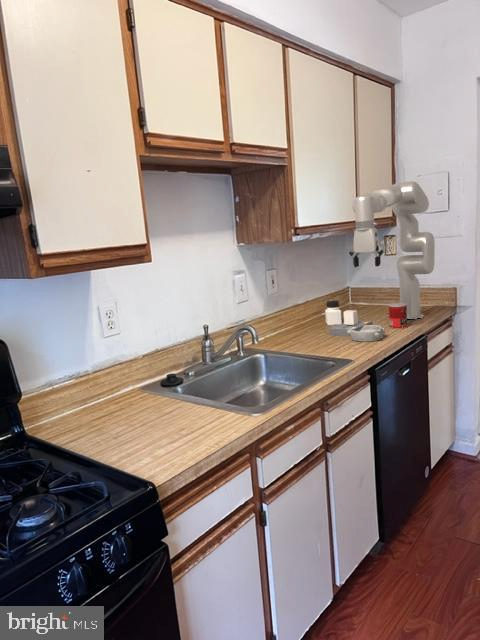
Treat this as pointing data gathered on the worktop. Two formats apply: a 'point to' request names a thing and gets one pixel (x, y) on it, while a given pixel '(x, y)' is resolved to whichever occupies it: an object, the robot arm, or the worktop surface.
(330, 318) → the medicine bottle
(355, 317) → the block
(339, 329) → the breaker panel
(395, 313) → the canned food
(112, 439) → the worktop surface
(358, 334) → the dish
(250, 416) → the worktop surface
